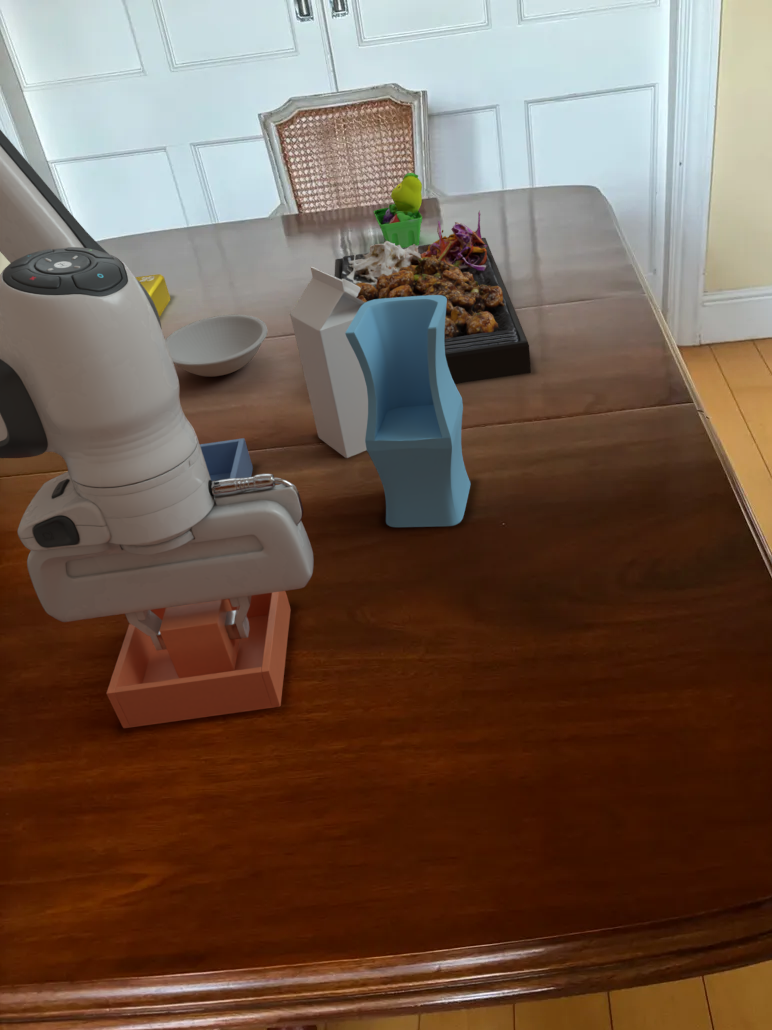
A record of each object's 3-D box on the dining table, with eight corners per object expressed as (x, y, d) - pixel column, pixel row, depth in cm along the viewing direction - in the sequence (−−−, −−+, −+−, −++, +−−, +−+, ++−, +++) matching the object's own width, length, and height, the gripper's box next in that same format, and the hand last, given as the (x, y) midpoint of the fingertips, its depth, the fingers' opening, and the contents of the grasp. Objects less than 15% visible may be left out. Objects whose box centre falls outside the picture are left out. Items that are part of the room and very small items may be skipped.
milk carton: (347, 462, 99) (310, 291, 87) (318, 440, 104) (280, 276, 92) (401, 439, 102) (373, 271, 90) (371, 419, 107) (340, 257, 95)
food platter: (340, 286, 147) (327, 221, 140) (488, 265, 147) (482, 198, 140) (334, 404, 111) (317, 324, 105) (531, 376, 111) (525, 293, 105)
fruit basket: (377, 238, 166) (366, 173, 160) (423, 230, 167) (415, 165, 160) (384, 255, 157) (373, 187, 150) (433, 247, 158) (425, 178, 151)
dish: (174, 359, 130) (163, 325, 127) (272, 340, 131) (264, 306, 128) (169, 409, 116) (157, 373, 113) (279, 387, 117) (270, 351, 114)
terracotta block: (178, 678, 71) (158, 630, 68) (187, 642, 75) (168, 595, 71) (234, 671, 71) (217, 622, 68) (240, 634, 74) (224, 587, 71)
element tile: (60, 342, 141) (49, 312, 138) (88, 309, 153) (77, 281, 150) (153, 330, 141) (144, 300, 138) (174, 298, 152) (165, 269, 149)
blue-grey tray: (122, 547, 90) (108, 512, 88) (146, 486, 100) (133, 453, 97) (242, 530, 90) (231, 495, 88) (254, 471, 100) (244, 437, 97)
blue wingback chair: (382, 532, 87) (344, 333, 75) (397, 489, 93) (363, 299, 81) (462, 530, 85) (436, 327, 73) (472, 487, 92) (449, 293, 79)
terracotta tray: (125, 732, 69) (105, 693, 66) (154, 632, 78) (138, 594, 76) (281, 711, 69) (268, 670, 66) (291, 613, 78) (280, 574, 76)
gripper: (295, 449, 66) (333, 597, 74) (21, 488, 66) (89, 632, 74) (290, 493, 61) (330, 646, 69) (-8, 535, 61) (69, 683, 69)
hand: (203, 639), depth 72 cm, fingers closed on terracotta block, 4 cm apart
